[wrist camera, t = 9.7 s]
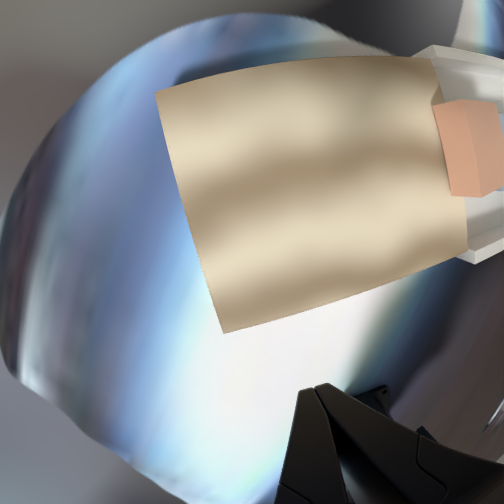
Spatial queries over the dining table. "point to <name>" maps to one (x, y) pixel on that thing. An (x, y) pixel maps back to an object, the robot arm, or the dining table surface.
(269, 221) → the birch plate
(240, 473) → the dining table surface
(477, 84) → the box
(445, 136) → the terracotta tile
